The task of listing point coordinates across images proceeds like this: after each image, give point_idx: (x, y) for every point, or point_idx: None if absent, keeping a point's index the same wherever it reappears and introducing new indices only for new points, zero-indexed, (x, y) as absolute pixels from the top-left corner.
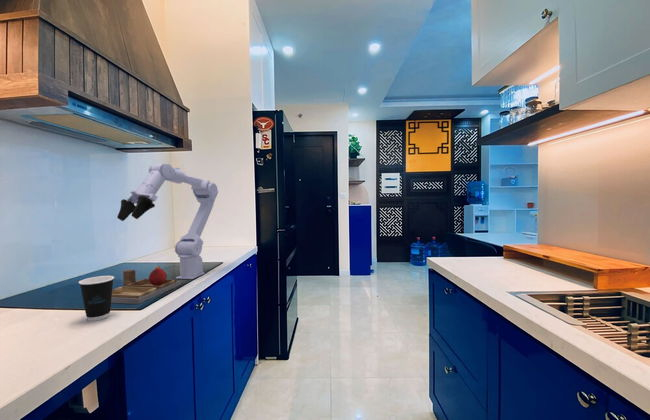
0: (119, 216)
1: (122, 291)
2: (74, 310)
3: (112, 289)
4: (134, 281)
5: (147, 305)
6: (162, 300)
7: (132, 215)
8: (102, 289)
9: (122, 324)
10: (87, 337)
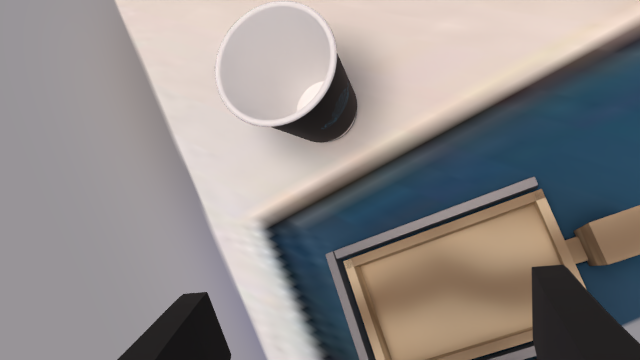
0: (539, 290)
1: None
2: (499, 87)
3: (593, 264)
4: None
5: (285, 263)
6: (286, 329)
7: (184, 296)
8: (238, 76)
9: (198, 129)
10: (198, 42)
